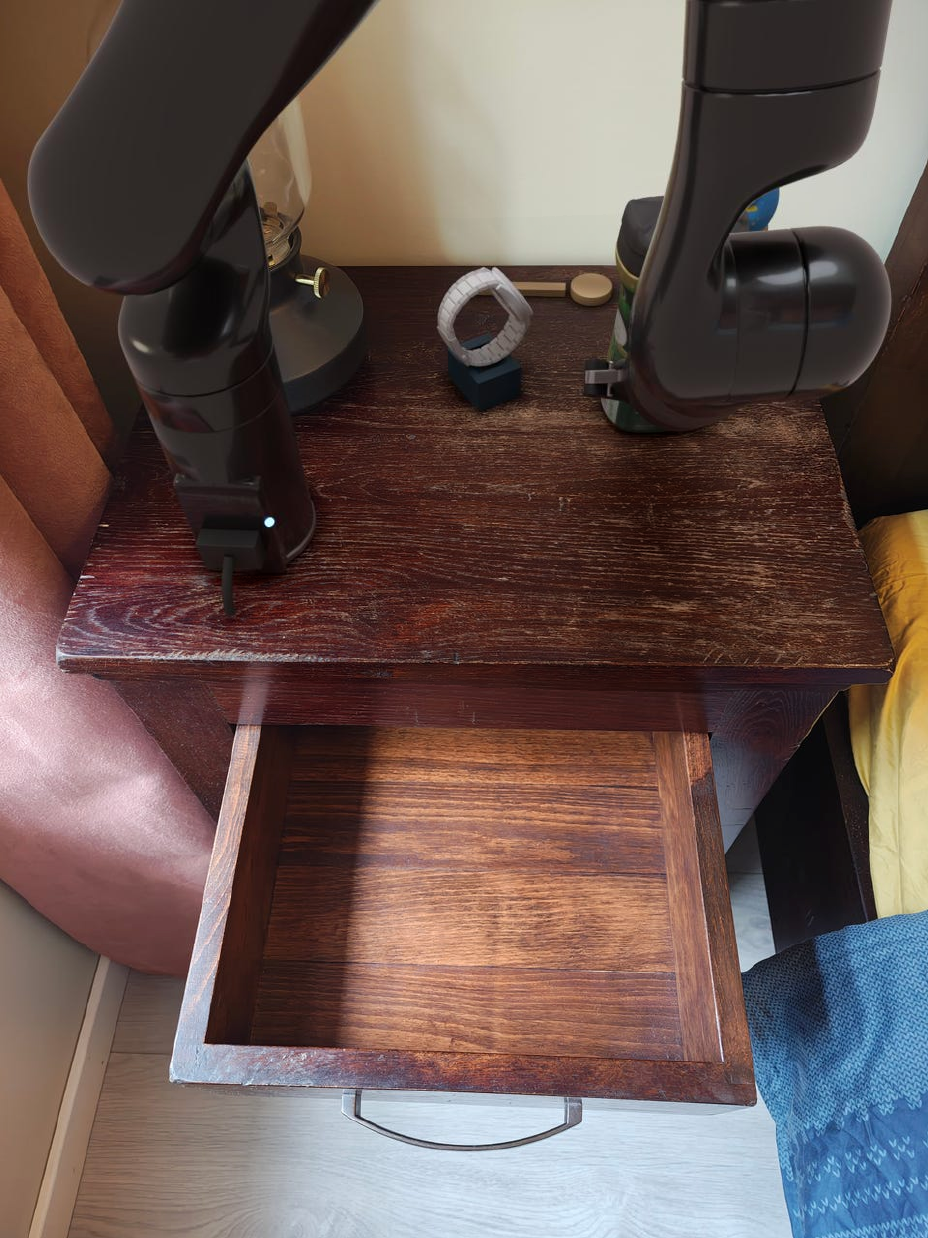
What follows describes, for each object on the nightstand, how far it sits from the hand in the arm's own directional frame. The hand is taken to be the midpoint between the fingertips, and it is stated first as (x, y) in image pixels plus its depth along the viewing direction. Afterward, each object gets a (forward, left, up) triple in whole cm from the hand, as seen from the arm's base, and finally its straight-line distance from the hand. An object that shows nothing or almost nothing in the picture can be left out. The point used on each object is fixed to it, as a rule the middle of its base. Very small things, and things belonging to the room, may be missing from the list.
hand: (656, 391), depth 73 cm
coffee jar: (+5, -1, -6) cm, 7 cm away
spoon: (+21, +9, -5) cm, 23 cm away
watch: (+7, +14, -6) cm, 17 cm away
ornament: (+19, -8, -6) cm, 21 cm away
